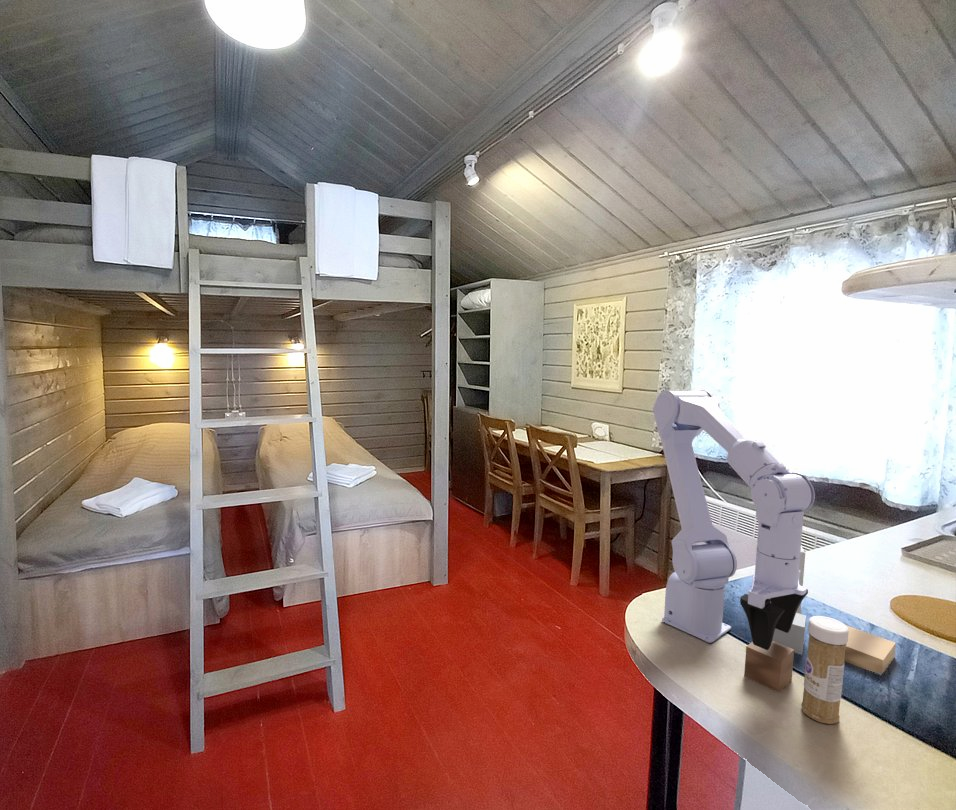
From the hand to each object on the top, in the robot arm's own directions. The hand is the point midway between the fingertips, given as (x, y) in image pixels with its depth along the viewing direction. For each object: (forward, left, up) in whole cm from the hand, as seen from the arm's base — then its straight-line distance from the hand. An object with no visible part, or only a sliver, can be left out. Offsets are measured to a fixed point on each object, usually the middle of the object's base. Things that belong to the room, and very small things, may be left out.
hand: (771, 637), depth 79 cm
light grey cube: (-2, +13, -7) cm, 15 cm away
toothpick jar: (+8, -3, -7) cm, 11 cm away
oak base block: (+7, +19, -7) cm, 21 cm away
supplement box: (-9, +28, -7) cm, 30 cm away
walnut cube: (0, 0, -7) cm, 7 cm away
